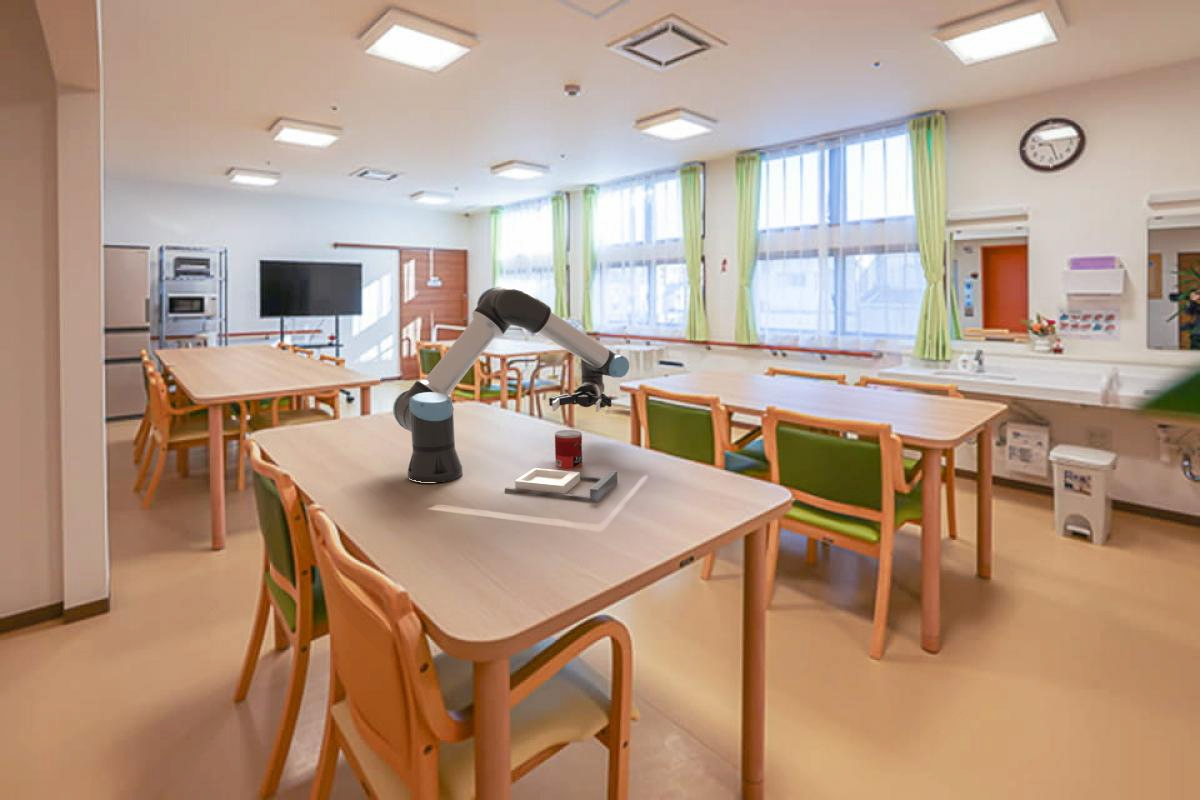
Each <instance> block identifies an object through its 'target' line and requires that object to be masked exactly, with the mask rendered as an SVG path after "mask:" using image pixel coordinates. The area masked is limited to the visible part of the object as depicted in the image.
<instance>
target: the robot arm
mask: <svg viewBox="0 0 1200 800" xmlns="http://www.w3.org/2000/svg"><path fill="white" fill-rule="evenodd" d="M477 300H478V301H477V304H476V308H475V309H474V310H473V311H472V313H471V314H472V320H471V322H469V324H468V325H467V326H466V328H465V329H464V330H463V331H462V333H460V335H459V336H458V337H457V339H456V340H455V341H454V342H453V344H451V346H450V347H449V349H448V350H447V351H446V353H444V355H443V356H442V357H441V358H440V360H439V361H438V362H437V364H436V365H434V366H433V368H432V369H431V371H430V372H429V374H428V375H427V376H426V377H425V378H423V379H418V380H416V381H415V382H414V383H413V385H412V386H411V387H410V388H409V390H405V391H403V392H402V393H400V394H398V396H397V397H396V398H395V400H394V402H393V407H392V408H393V409H392V413H393V416H394V419H395V420H396V422H397V423H398V425H399V426H400V427H402V428H404V429H405V430H408V431H409V432H410V433H411V443H412V454H411V456H410V460H409V461H410V462H409V464H408V469H407V478H408V477H409V478H410V479H412V480H416V481H421V482H443V481H448V482H450V481H449V480H452V481H454V480H453V479H455V480H457V479H459V478H460V477H462V476H463V466H462V463H461V460H460V458H459V454H458V452H457V450H456V443H455V442H456V441H455V425H454V423H455V421H454V420H455V419H454V410H455V409H454V404H453V400H452V397H450V394H451V393H452V392H453V390H454V389H455V388H456V387H457V385H458V384H459V383H460V382H461V380H462V379H463V378H464V377H465V375H466V374H467V373H468V371H469V370H470V369H471V368H472V366H473V365H474V364H475V363H476V361H477V360H478V359H479V358H480V356H481V355H482V354H483V353H484V351H485V350H486V349H487V348H488V347H489V345H490V344H491V342H493V340H494V339H495V338H497V337H503V336H504V334H505V333H506V331H507V330H508V329H509V328H510V327H511V326H514V327H519V328H522V329H525V330H527V331H529V332H531V333H532V334H540V335H542V336H544V337H545V338H547V339H548V340H550V341H551V342H552V343H555V344H556V345H558V346H559V347H561V348H562V349H564V350H566V351H567V352H569V353H571V354H572V355H573V356H576V357H577V358H579V359H580V365H581V366H580V368H581V370H580V371H581V384H580V386H579V387H578V388H576V391H575V392H574V393H571V394H569V393H568V392H566V393H563V394H560V395H556V396H552V397H549V398H548V401H549V403H548V404H549V406H550V407H552V412H556V411H557V410H558V409H559V408H560V406H566V405H573V406H574V405H579V406H580V407H581V408H590V407H592V406H593V405H595V412H596V413H597V412H598V413H599V411H601V409H602V408H606V406H607V407H608V408H611V407H612V398H611V397H609V396H607V395H606V394H605V393H604V392H605V383H604V381H603V379H604V377H603V376H606V377H611V378H620V379H621V378H623V377H624V376H626V375H627V374H628V372H629V369H630V361H629V360H628V358H627V357H626V356H624V355H621V354H616V353H614V351H612V350H610V349H608V348H607V347H605V346H604V345H603V344H601V343H600V342H598V341H596V340H594V339H593V338H592V337H590V336H588V335H587V334H585V332H583V331H582V330H579V329H578V328H576V327H575V326H574V325H572V324H570V323H569V322H567V320H565V319H563V318H561V317H560V316H559V315H557V314H555V313H554V312H553V311H552V308H551V307H550V306H549V304H546V303H545V302H544V301H542V300H540V299H539V298H537V297H536V296H535V295H533V294H532V293H530V292H529V291H527V290H525V289H523V288H520V287H517V286H516V287H515V286H511V287H509V286H508V287H503V286H494V287H491V288H488V289H487V290H485V291H483V293H481V295H479V298H478V299H477ZM461 475H462V476H461ZM456 478H457V479H456ZM443 483H444V482H443Z"/></svg>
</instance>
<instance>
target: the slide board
mask: <svg viewBox="0 0 1200 800" xmlns="http://www.w3.org/2000/svg"><path fill="white" fill-rule="evenodd" d="M580 481H586V482H596V483H595V484H594V485H592V487H591V488H589V496H588V495H581V494H572V493H571V494H570V493H566V494H563V493H554V492H545V491H536V490H527V489H518V488H515V487H505V488H504V493H509V494H510V493H512V494H518V495H519V494H520V495H528V496H529V495H531V496H539V497H546V498H547V497H548V498H554V499H555V498H556V499H564V500H573V501H580V502H591V503H600V501H601V500H602V498H604V497H605V496H606V495H607V494H608V493H609V492H610V491H611V490H612V488H613V487H615V486H616V485H617V483H618V470H609V471H608V472H607V473H605V474H604V475H603V476H602V477H600V476H599V477H597V476H588V475H580Z"/></svg>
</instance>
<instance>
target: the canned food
mask: <svg viewBox="0 0 1200 800" xmlns="http://www.w3.org/2000/svg"><path fill="white" fill-rule="evenodd" d="M554 450H555V451H554V452H555V453H554V454H555V455H554V456H555V457H554V458H555V459H554V460H555V468H557V469H560V470H561V469H562V470H576V469H580V468H582V466H583V434H582V431H579V430H575V429H565V430H557V431H556V432H555V433H554Z"/></svg>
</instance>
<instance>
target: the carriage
mask: <svg viewBox="0 0 1200 800" xmlns="http://www.w3.org/2000/svg"><path fill="white" fill-rule="evenodd" d="M580 476H581V472H580V471H570V470H561V469H560V470H559V469H549V468H538V467H534V468H533V469H531V470H529V471H528V472H526V473H525V474H524V475H521V476H520V477H519V478H517V479H516V480H514V485H515V486H514V488H518V489H527V490H536V491H545V492H554V493H563V494H568V492H569V491H570V490H572V489H573V488H574V487H575V486H576V485H578V483H580V482H581V480H580Z"/></svg>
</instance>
